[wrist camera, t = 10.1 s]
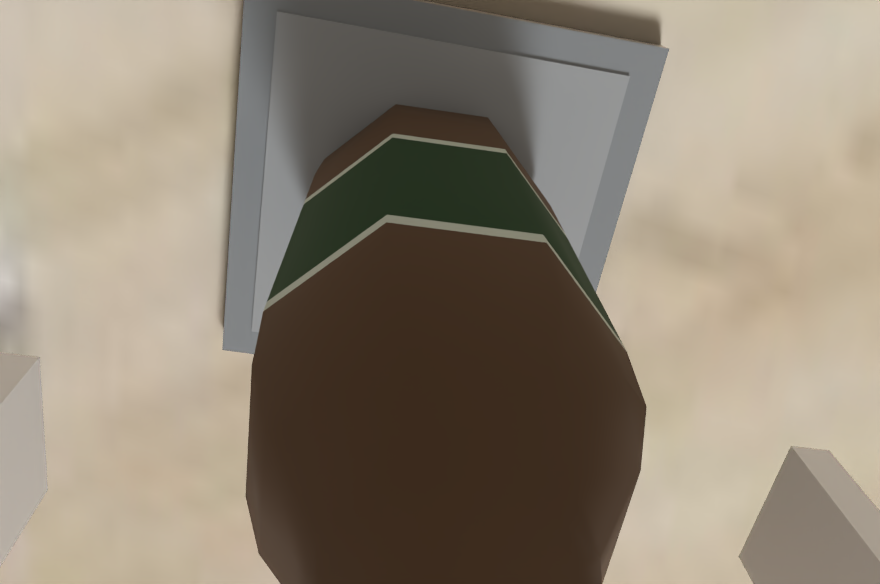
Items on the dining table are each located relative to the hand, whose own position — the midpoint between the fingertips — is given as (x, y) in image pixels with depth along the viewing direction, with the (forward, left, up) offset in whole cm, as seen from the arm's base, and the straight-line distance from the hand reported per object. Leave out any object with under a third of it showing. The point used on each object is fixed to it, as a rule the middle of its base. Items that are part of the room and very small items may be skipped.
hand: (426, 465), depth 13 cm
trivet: (0, 0, -14) cm, 14 cm away
